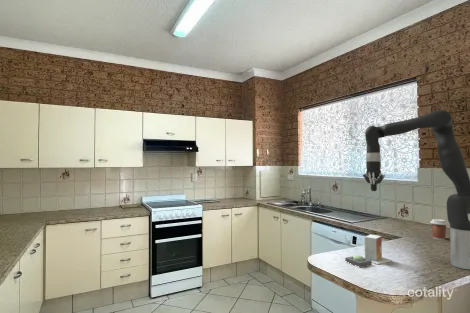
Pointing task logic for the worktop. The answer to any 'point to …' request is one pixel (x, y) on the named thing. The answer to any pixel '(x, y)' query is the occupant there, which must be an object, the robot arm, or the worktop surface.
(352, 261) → the button housing
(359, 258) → the button
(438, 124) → the robot arm
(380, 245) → the small box
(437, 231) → the coffee cup
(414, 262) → the worktop surface
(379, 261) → the paper pad
